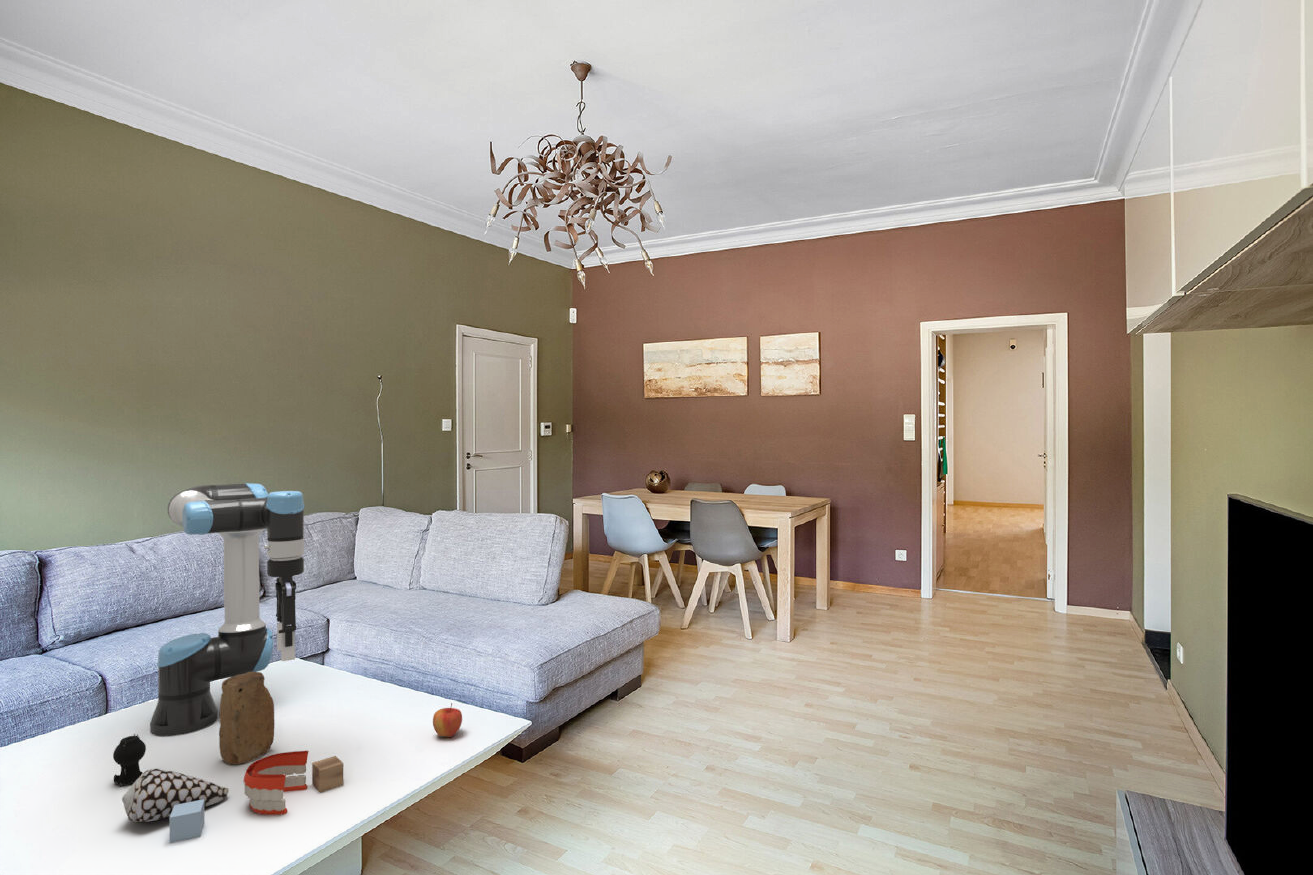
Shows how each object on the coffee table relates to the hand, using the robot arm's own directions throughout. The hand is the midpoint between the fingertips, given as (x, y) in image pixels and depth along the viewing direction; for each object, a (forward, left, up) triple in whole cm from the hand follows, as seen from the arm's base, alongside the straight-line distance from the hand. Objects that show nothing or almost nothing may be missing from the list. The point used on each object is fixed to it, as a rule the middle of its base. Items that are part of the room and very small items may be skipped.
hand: (285, 654), depth 160 cm
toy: (+13, -4, -28) cm, 31 cm away
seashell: (+6, -21, -28) cm, 35 cm away
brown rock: (-14, -7, -28) cm, 32 cm away
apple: (+2, +37, -28) cm, 46 cm away
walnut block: (+12, +7, -27) cm, 31 cm away
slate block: (+17, -19, -27) cm, 37 cm away
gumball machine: (-15, -30, -28) cm, 43 cm away
